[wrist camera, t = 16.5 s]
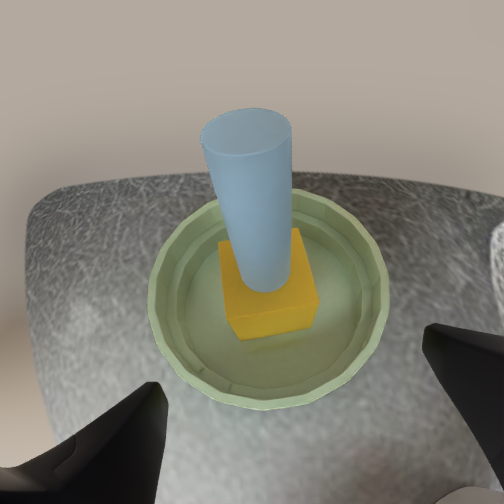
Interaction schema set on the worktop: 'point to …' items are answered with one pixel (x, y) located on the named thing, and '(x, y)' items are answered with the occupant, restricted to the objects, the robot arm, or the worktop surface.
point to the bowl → (278, 346)
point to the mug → (473, 496)
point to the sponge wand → (259, 224)
